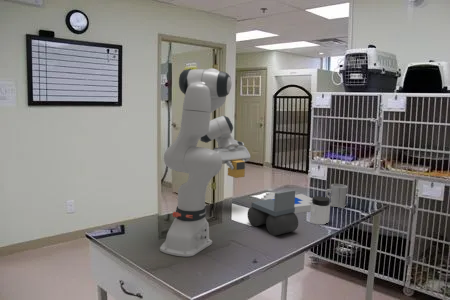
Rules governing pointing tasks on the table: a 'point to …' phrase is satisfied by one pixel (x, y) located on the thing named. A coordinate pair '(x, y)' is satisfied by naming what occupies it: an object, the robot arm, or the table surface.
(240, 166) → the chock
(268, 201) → the trolley
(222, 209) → the table surface
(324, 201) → the jar
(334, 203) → the cup
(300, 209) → the stepped white slab
